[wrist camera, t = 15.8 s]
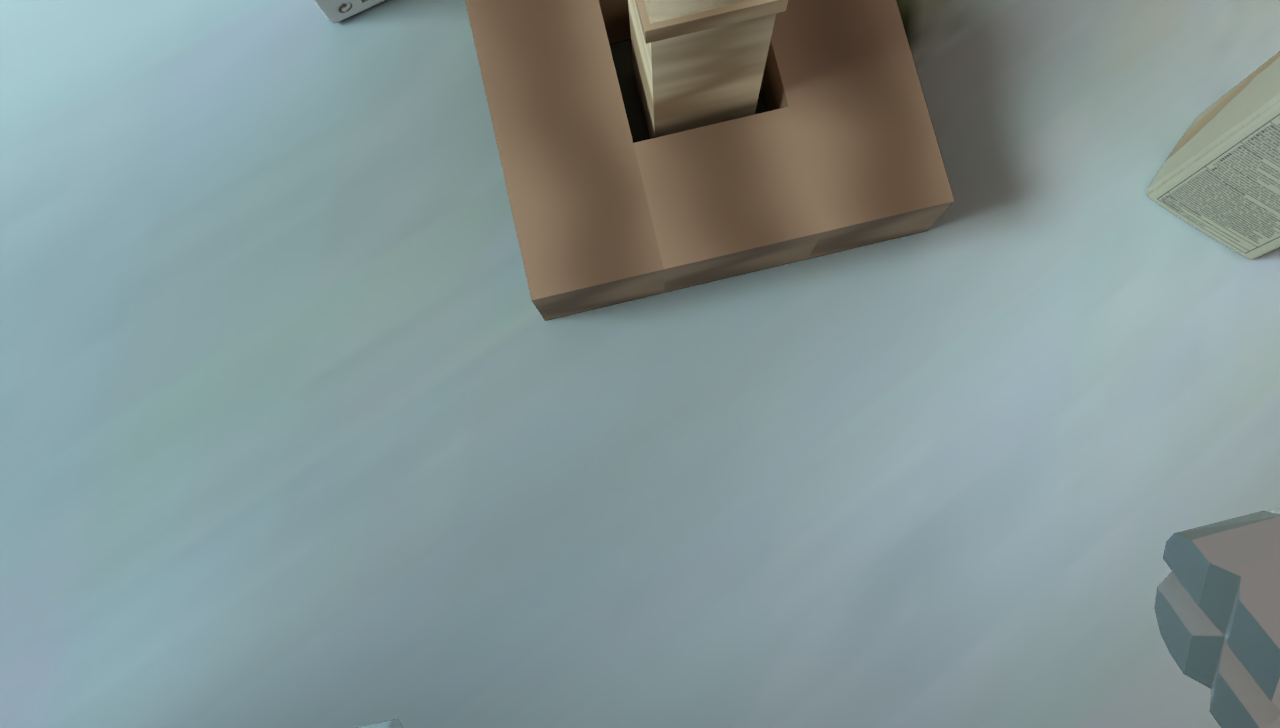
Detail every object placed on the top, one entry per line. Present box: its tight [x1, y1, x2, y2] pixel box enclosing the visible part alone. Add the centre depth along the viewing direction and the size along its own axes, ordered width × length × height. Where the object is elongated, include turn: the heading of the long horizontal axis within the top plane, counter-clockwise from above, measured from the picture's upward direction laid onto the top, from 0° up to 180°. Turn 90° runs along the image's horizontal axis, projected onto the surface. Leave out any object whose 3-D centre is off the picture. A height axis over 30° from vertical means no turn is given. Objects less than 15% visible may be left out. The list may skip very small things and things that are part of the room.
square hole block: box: [465, 0, 954, 320], centre depth 40 cm, size 16×16×4 cm
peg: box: [628, 0, 788, 139], centre depth 36 cm, size 4×4×12 cm
